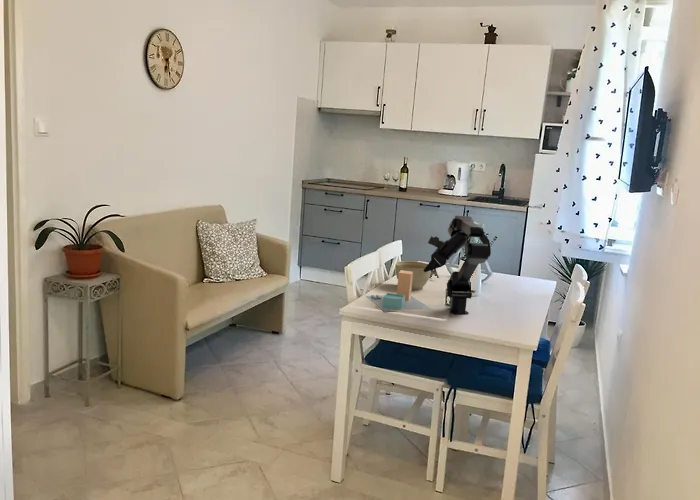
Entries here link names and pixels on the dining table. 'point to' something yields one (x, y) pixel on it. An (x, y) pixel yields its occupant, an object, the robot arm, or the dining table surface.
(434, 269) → the eiffel tower figurine
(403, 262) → the planter bowl
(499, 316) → the dining table surface
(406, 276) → the terracotta brick
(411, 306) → the baseplate
